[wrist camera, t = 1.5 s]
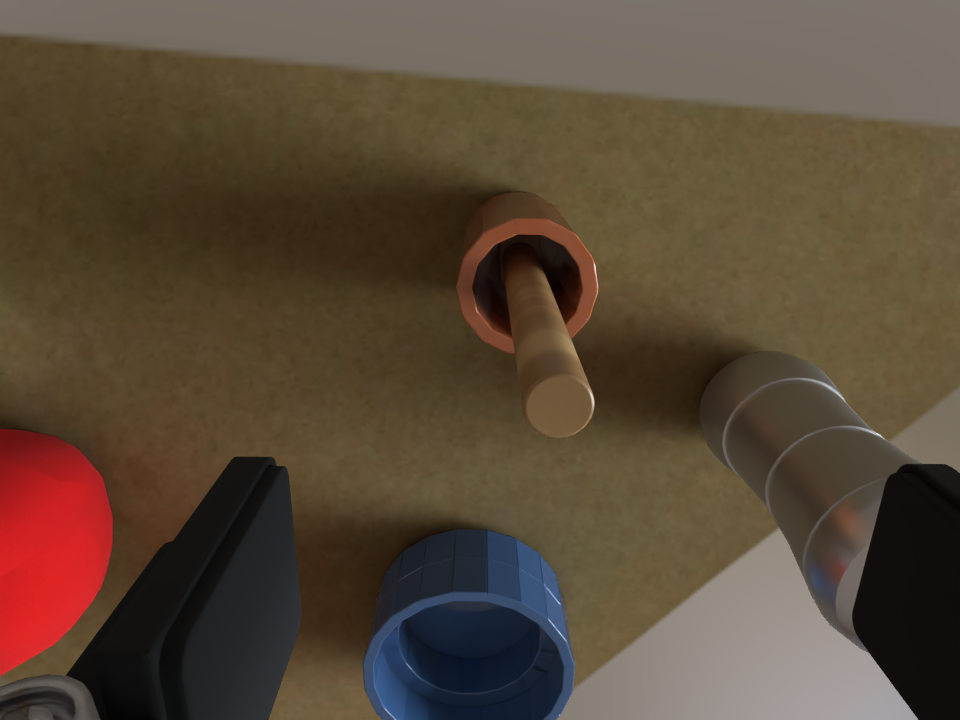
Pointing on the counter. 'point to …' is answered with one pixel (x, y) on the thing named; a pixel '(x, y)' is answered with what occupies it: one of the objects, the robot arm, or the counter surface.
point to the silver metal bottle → (804, 467)
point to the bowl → (469, 633)
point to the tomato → (47, 541)
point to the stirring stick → (542, 344)
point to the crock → (558, 257)
